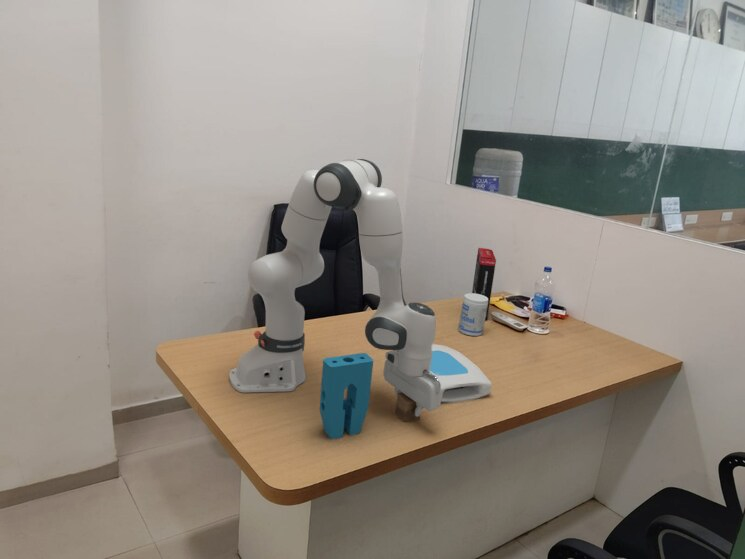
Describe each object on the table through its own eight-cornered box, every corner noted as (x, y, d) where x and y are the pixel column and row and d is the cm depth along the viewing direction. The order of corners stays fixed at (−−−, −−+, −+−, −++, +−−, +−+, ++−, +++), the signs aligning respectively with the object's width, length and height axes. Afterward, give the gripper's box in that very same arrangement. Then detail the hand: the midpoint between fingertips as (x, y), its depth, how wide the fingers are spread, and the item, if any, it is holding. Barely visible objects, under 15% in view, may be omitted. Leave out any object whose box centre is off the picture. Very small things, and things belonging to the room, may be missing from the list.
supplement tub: (454, 332, 212) (460, 296, 208) (462, 325, 220) (467, 291, 216) (478, 339, 208) (484, 302, 204) (485, 331, 216) (491, 296, 212)
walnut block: (403, 422, 146) (406, 402, 144) (395, 412, 150) (397, 393, 148) (419, 419, 148) (422, 399, 146) (410, 410, 152) (413, 390, 151)
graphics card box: (487, 321, 228) (498, 258, 220) (471, 319, 228) (481, 256, 220) (483, 307, 244) (493, 249, 236) (468, 305, 245) (477, 247, 237)
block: (358, 421, 144) (365, 352, 138) (367, 431, 140) (374, 360, 134) (316, 430, 138) (322, 358, 133) (324, 440, 134) (330, 367, 128)
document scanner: (444, 358, 189) (446, 341, 187) (490, 398, 164) (494, 379, 162) (389, 363, 180) (391, 346, 178) (429, 406, 156) (432, 387, 154)
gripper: (450, 377, 139) (442, 424, 143) (399, 346, 154) (394, 390, 158) (431, 382, 135) (424, 431, 139) (382, 350, 150) (377, 395, 154)
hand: (408, 409), depth 149 cm, fingers closed on walnut block, 5 cm apart
